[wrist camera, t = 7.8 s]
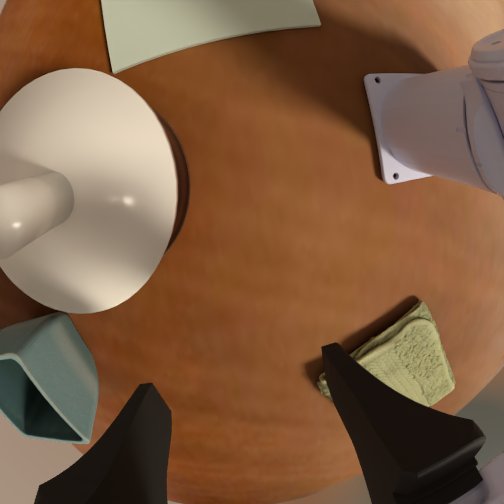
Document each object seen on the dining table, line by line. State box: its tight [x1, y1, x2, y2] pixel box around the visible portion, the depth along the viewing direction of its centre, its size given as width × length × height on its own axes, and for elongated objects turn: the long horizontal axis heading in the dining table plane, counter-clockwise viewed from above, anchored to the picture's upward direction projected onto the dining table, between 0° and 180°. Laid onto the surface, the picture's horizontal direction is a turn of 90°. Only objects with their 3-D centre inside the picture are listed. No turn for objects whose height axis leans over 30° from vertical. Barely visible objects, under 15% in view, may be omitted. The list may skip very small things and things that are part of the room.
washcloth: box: [317, 300, 455, 407], centre depth 26 cm, size 13×18×3 cm
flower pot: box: [0, 312, 99, 444], centre depth 17 cm, size 9×9×9 cm
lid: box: [0, 68, 178, 314], centre depth 10 cm, size 12×12×5 cm
